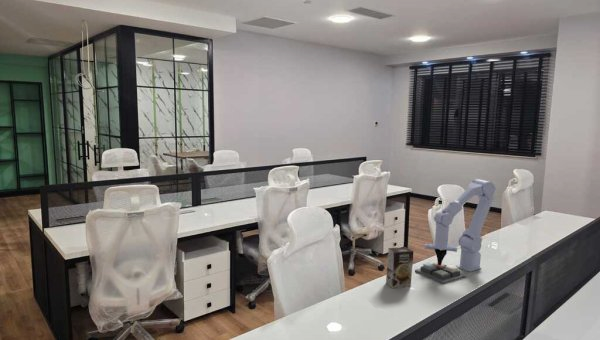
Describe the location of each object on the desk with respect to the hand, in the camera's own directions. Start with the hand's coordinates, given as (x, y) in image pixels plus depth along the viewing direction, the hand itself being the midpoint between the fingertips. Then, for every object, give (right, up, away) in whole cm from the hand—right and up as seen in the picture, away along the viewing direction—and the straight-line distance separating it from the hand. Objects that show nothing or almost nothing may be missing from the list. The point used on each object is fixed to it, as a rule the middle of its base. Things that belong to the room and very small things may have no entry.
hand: (439, 264), depth 195 cm
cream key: (+4, -2, -6) cm, 7 cm away
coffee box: (-24, -5, -17) cm, 30 cm away
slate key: (-6, -1, -4) cm, 7 cm away
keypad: (-1, -4, -4) cm, 6 cm away
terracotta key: (0, -2, 0) cm, 2 cm away
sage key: (-2, -3, -9) cm, 10 cm away
